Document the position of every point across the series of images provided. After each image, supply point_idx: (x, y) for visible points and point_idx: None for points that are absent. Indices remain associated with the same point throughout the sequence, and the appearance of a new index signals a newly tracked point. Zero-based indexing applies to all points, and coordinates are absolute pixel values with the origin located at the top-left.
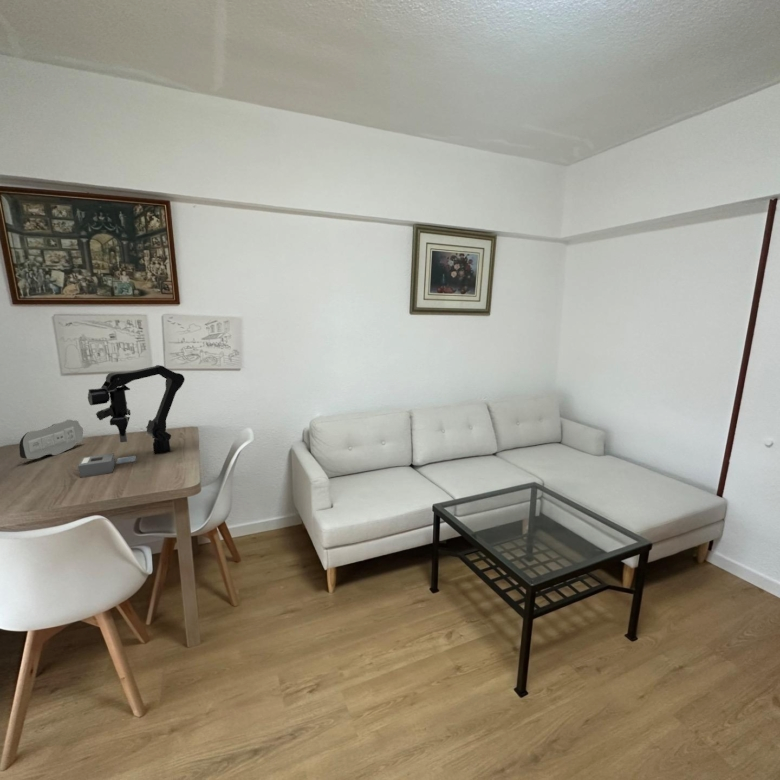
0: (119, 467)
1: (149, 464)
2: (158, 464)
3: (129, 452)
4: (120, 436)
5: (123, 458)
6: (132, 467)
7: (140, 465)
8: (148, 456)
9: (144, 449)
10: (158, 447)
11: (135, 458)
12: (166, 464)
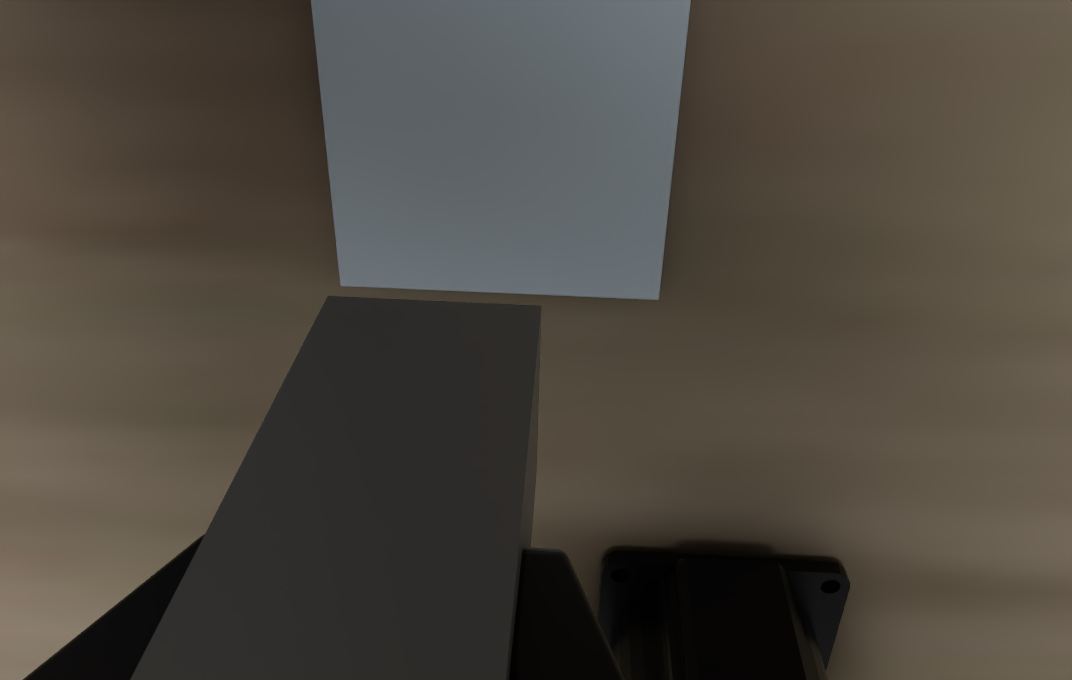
0: (68, 18)
1: (92, 463)
2: (55, 556)
3: (1066, 174)
4: (253, 475)
5: (602, 81)
6: (6, 242)
7: (81, 354)
8: (537, 463)
9: (1044, 420)
10: (633, 675)
11: (521, 286)
12: (27, 628)
